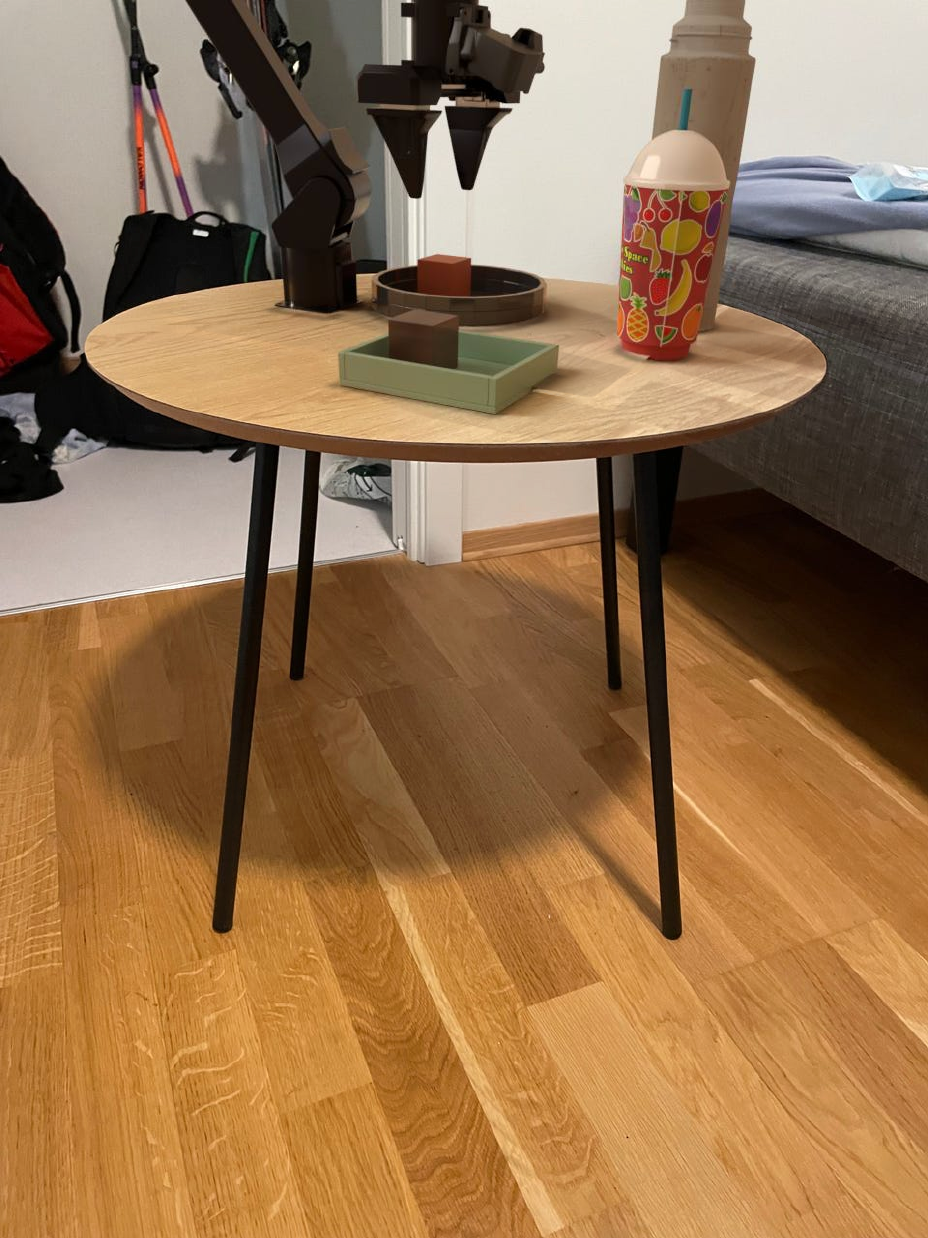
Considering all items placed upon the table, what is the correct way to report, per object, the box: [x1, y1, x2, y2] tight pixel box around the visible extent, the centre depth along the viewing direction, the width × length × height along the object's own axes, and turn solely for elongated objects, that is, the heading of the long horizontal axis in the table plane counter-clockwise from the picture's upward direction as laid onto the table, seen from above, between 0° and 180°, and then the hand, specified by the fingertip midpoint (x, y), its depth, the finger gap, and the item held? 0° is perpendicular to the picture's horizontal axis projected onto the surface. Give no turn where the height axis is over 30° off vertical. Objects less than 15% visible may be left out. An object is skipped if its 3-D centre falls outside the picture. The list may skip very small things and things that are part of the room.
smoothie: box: [616, 89, 730, 362], centre depth 76 cm, size 8×8×20 cm
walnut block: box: [387, 309, 460, 369], centre depth 72 cm, size 4×4×4 cm
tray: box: [337, 329, 560, 415], centre depth 72 cm, size 13×11×2 cm
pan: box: [371, 263, 548, 327], centre depth 93 cm, size 17×17×3 cm
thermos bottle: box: [651, 0, 757, 333], centre depth 84 cm, size 8×8×28 cm
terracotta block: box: [417, 253, 472, 297], centre depth 94 cm, size 4×4×4 cm
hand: (442, 193), depth 86 cm, fingers open, 9 cm apart
